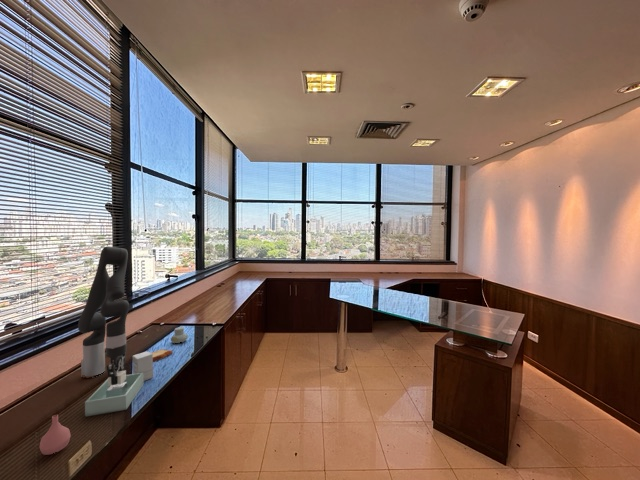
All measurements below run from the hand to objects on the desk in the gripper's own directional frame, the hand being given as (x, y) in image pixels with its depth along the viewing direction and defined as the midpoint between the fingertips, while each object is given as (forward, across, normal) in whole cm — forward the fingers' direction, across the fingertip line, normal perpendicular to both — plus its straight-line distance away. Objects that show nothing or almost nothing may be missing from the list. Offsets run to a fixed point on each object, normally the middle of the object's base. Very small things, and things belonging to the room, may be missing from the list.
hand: (117, 381), depth 124 cm
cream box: (+1, 0, 0) cm, 1 cm away
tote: (+8, 0, 0) cm, 8 cm away
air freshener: (+8, -71, +12) cm, 72 cm away
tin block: (+7, 0, 0) cm, 7 cm away
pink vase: (+8, +30, -7) cm, 32 cm away
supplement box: (+8, -18, +5) cm, 20 cm away
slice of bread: (+9, -45, +3) cm, 46 cm away
